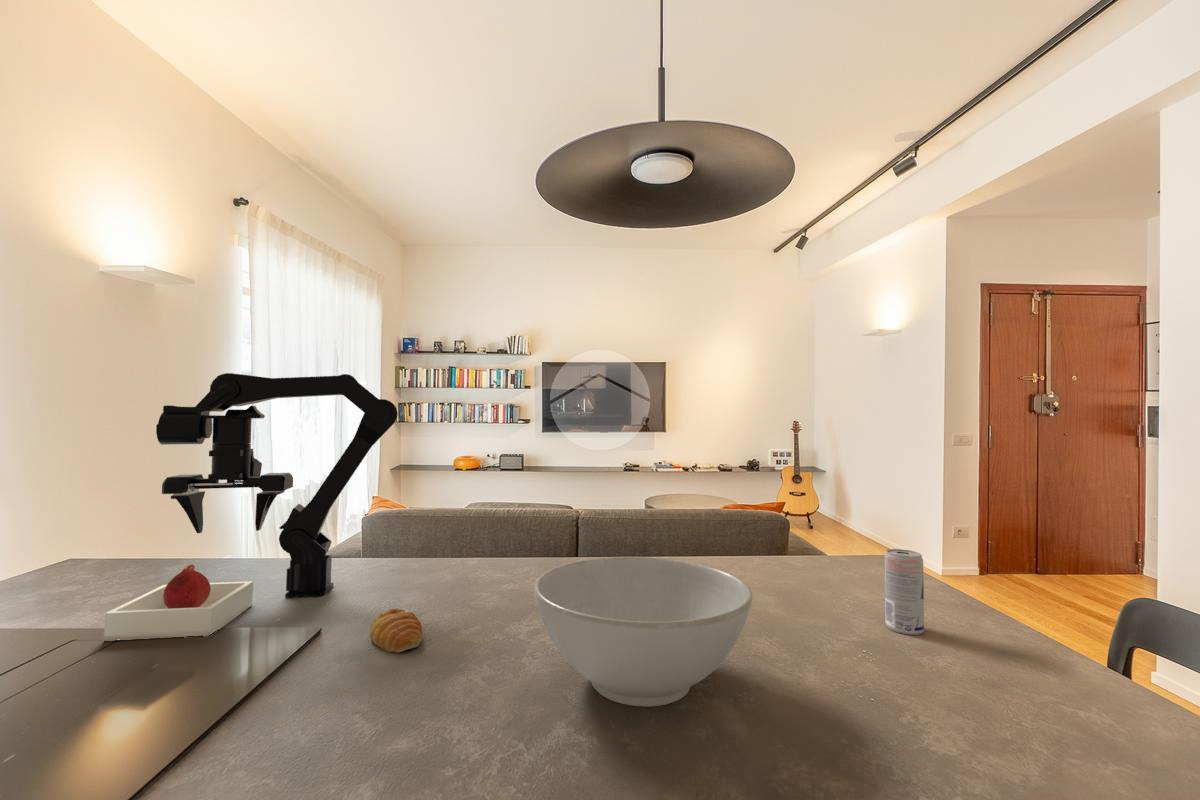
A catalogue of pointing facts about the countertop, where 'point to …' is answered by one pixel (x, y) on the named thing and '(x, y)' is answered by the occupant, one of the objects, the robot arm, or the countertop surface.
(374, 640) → the pastry
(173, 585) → the onion
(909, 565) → the energy drink
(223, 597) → the bin
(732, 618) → the decorative bowl
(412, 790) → the countertop surface
